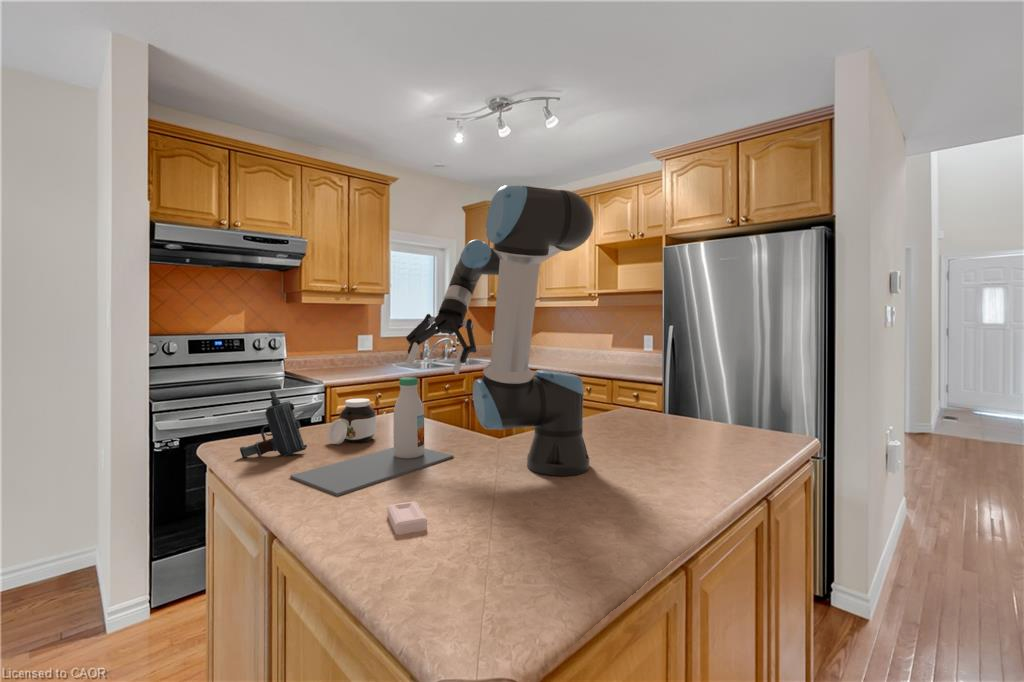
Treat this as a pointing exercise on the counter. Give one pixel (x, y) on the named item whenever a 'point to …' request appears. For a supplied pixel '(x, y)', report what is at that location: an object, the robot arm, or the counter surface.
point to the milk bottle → (408, 421)
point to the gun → (278, 431)
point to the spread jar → (354, 423)
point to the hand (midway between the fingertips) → (431, 368)
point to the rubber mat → (366, 470)
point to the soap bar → (406, 518)
